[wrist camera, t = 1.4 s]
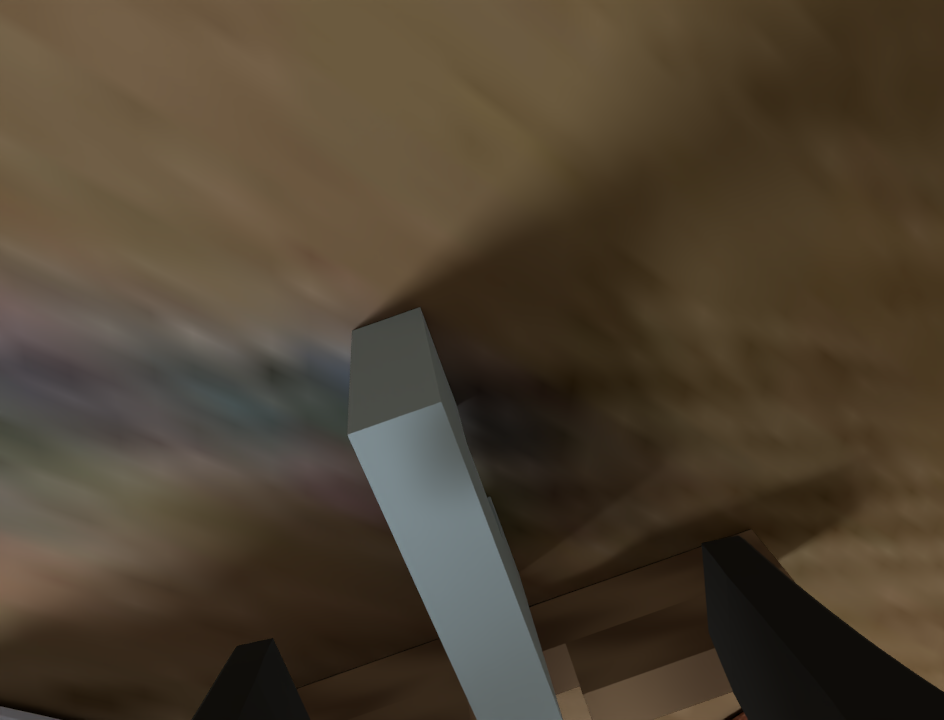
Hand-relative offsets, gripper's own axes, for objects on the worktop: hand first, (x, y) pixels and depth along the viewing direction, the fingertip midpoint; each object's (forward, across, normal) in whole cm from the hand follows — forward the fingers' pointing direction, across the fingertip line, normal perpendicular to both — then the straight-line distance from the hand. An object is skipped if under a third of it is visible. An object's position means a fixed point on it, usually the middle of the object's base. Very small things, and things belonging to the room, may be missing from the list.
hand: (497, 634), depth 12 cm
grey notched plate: (+10, +1, +3) cm, 10 cm away
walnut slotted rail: (+9, 0, +10) cm, 14 cm away
